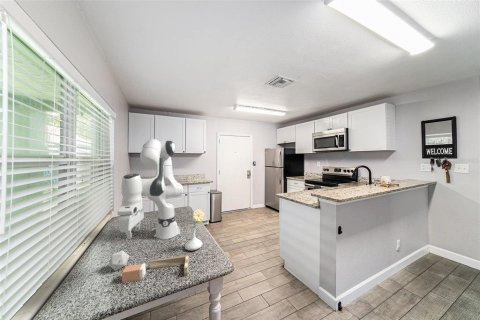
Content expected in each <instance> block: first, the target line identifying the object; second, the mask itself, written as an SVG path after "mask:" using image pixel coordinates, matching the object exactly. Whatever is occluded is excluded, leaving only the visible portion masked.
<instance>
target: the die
mask: <svg viewBox="0 0 480 320" xmlns="http://www.w3.org/2000/svg"><path fill="white" fill-rule="evenodd" d="M129 258H130V255H129V254H128V253H126V252H125V251H124V250H119V251H118V252H116V253H113V254H111V257H110V259H109V262H108V266H109V267H110V268H111V269H112V270H113V271H114V272H116V271H119V270H120V268H121V269H122V267H123V268H125V267H126V266H128V262H129ZM124 266H125V267H124ZM118 269H119V270H118Z"/></svg>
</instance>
